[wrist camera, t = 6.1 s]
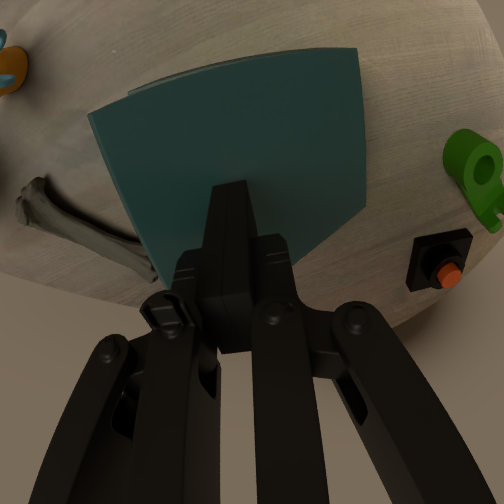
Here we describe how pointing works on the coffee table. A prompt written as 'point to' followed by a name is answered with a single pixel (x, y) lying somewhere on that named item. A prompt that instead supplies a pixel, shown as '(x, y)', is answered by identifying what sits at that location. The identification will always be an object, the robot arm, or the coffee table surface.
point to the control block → (436, 257)
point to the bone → (79, 230)
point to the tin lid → (240, 150)
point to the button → (449, 275)
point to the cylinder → (11, 66)
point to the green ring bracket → (477, 174)
